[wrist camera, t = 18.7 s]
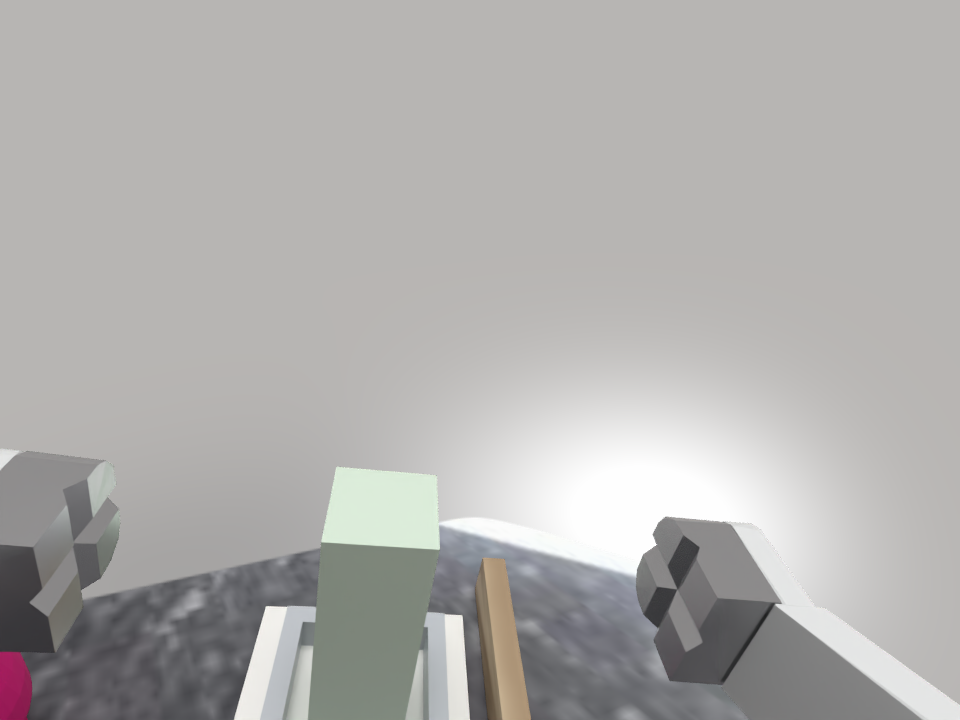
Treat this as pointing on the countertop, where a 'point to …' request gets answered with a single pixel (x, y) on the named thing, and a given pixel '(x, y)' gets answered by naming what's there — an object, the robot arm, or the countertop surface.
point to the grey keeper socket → (288, 664)
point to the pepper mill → (14, 687)
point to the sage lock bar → (372, 593)
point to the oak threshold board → (499, 645)
